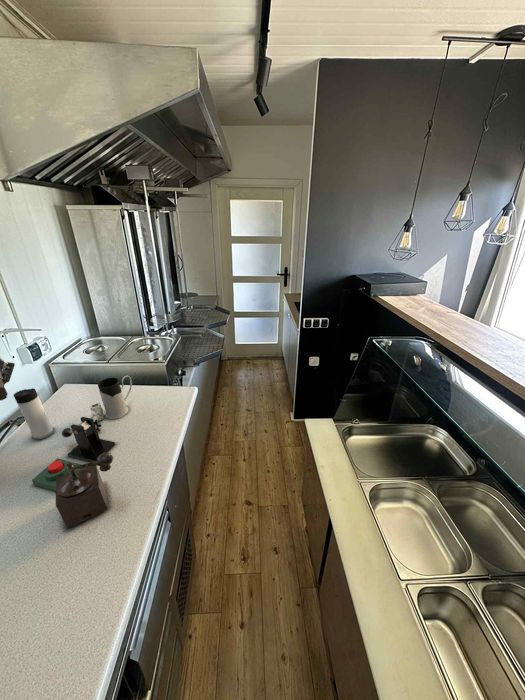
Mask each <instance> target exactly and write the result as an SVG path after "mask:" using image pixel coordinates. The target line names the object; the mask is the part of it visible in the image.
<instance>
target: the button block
mask: <svg viewBox="0 0 525 700" xmlns="http://www.w3.org/2000/svg"><path fill="white" fill-rule="evenodd" d="M55 461H61V462H62V464H63V469H62V470H61V471H59V472H57V473H54V474H51V473H50V471H49V469H48V466H46V467H45V468H44V469H42V471H41V472H40V473H38V474H37V475H36V476H35V477H33V478H32V479H31V482H32V484H33V485H34V486H37V487H40V488H43V489H46V490H49V491H54V492H56V478H58V477H61V476H63V475H66V474H69V473H71V472H70V471H68V467H67V463H69V462H71V463H72V465H73V466H77V465H81V464H82V463H78V462H74V461H70V460H66V459H62V458H58V457H57V458H55V460H54V461H52V462H51V463H53V462H55ZM79 469H81V468H79ZM79 469H74V471H76V470H79Z"/></svg>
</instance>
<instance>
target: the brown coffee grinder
mask: <svg viewBox="0 0 525 700" xmlns="http://www.w3.org/2000/svg"><path fill="white" fill-rule="evenodd" d="M113 460H114V456H113V455H112V453H111V452H107V453H102V454H100V455H99V456H98V458H97V462H86V463H80V464H81V465H77V466H73V465H72V463H71V462H72V461H70V462H69V463H67V467H68V471H70V472H71V473H69V474H66V475H63V476H61V477H58V478H56V491H55V507H56V509H57V510H58V513H59V515H60V517H61V518H62V520H63V522H64V524H65V526H66V528H67V529H70V528H72V527H74V526H77V525H79V524H81V523H83V522H87V521H88V520H90V519H92V518H94V517H95V516H97V515H99V514H101V513H103V512H105V511H106V510H108V508H109V501H108V493H107V488H106V485H105V483H104V481H103V479H102V477H101V474H100V472H99V471H101V472H108V471H110V470H111V467H112V463H113ZM98 467H99V469H98ZM79 468H81V469H79ZM74 469H79V470H76V471H74Z"/></svg>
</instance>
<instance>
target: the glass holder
mask: <svg viewBox="0 0 525 700" xmlns="http://www.w3.org/2000/svg"><path fill="white" fill-rule="evenodd" d="M127 377H128V378H129V390H128V392H127V394H126V396H124V393H123V390H122V389H123V388H124V380H125V378H127ZM97 387H98V390H99V391H98V392H99V395H100V398H101V401H102V405H103V408H104V411H105V417H106V418H107V419H109V420H116V419H120V418H123V417H124V416H125V415H127V414H128V412H129V407H128V406H127V403H126V401H127V399H128V397H129V396H130V393H131V391H132V388H133V380H132V377H131V376H129V375H124V376H123V377H122V378H121V382H120V380H119V379H118V378H117V377H108V378H105V379H102V380H100V381H99V382H98V383H97Z"/></svg>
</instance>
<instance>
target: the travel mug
mask: <svg viewBox="0 0 525 700" xmlns="http://www.w3.org/2000/svg"><path fill="white" fill-rule="evenodd" d="M13 398H14V399H15V402H16V404H17V406H18V408H19V410H20V412H21V414H22V417H23V418H24V421H25V424H26V425H27V426H28V429H29V431H30V433H31V435H32V437H33V439H35V440H44V439H46V438H48V437H50V436H51V435H52V434H53V433H54V429H53V426H52V423H51V421H50V420H49V419H50V418H49V417H48V415H47V412H46V410H45V408H44V405H43V403H42V401H41V398H40V397H39V394H38V393H37V390H36V388H26V389H25V388H24V389H21V390H19V391H17V392H15V393H13Z"/></svg>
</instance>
